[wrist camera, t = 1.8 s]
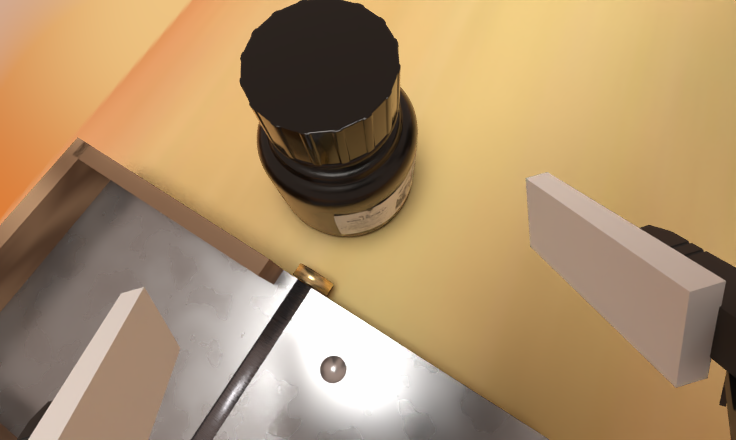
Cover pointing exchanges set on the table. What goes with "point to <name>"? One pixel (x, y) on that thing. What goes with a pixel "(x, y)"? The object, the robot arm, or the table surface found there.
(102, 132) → the table surface
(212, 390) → the hinge
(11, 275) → the holder
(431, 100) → the table surface
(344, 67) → the ink bottle
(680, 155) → the table surface
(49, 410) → the robot arm
